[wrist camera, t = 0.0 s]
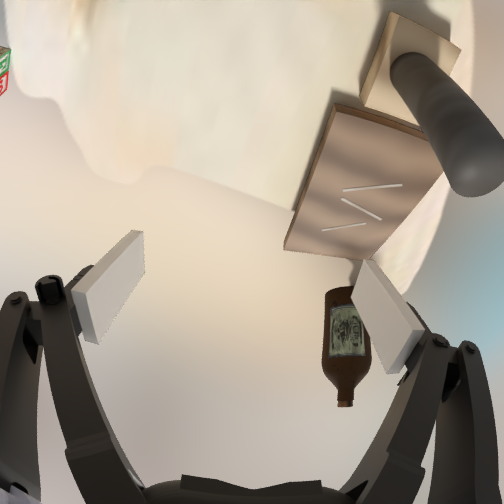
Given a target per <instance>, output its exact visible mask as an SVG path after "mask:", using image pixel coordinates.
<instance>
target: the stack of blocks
mask: <svg viewBox="0 0 504 504" xmlns="http://www.w3.org/2000/svg"><path fill="white" fill-rule="evenodd" d="M10 53H11V49H9V48H5V47H2V46H0V96H1V95H2V94H3V93H4V92H5V91H6V90H7V86H8V74H9V71H8V69H9V63H10Z"/></svg>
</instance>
